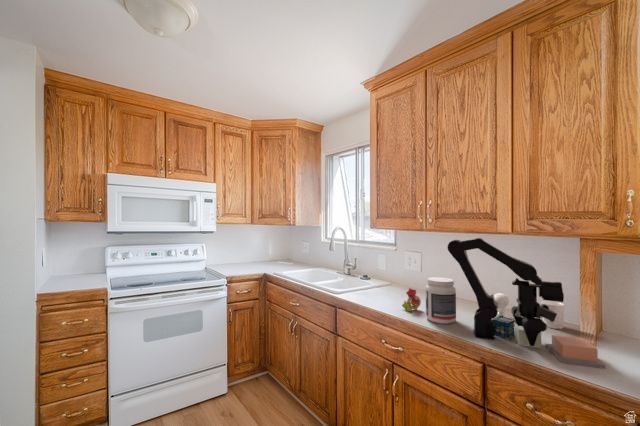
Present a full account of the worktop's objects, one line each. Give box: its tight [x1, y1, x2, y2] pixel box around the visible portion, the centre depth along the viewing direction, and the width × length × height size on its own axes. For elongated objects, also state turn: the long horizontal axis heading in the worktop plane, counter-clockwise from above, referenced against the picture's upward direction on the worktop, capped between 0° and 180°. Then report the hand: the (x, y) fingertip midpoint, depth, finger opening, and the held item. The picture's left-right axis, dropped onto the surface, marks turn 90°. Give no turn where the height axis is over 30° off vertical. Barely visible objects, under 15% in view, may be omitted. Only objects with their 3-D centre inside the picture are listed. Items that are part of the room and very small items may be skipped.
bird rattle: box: [401, 287, 422, 313], centre depth 150 cm, size 6×11×9 cm
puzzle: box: [492, 316, 515, 340], centre depth 118 cm, size 6×6×6 cm
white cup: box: [540, 300, 565, 330], centre depth 128 cm, size 8×8×10 cm
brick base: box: [545, 334, 606, 369], centre depth 99 cm, size 11×13×5 cm
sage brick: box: [514, 325, 542, 348], centre depth 110 cm, size 7×5×6 cm, turn 71°
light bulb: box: [493, 292, 510, 317], centre depth 141 cm, size 7×7×11 cm
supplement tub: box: [425, 276, 457, 325], centre depth 135 cm, size 13×13×18 cm
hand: (527, 340), depth 110 cm, fingers open, 9 cm apart
